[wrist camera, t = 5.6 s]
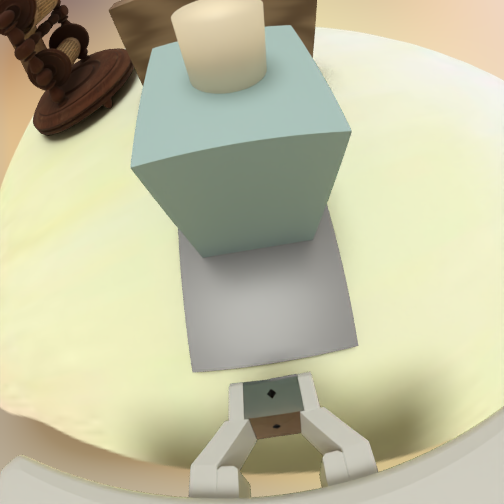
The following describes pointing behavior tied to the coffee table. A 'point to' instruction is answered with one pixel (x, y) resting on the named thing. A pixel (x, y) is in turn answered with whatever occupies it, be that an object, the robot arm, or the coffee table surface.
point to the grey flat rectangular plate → (266, 303)
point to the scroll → (61, 63)
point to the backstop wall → (166, 3)
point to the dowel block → (237, 130)
